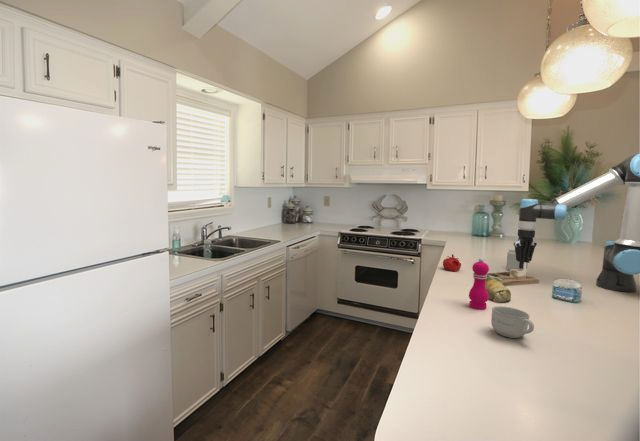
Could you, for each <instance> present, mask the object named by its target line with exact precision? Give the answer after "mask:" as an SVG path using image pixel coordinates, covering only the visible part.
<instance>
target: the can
mask: <svg viewBox="0 0 640 441" xmlns="http://www.w3.org/2000/svg"><path fill="white" fill-rule="evenodd" d="M506 255H507V256H506V270H507V271H510V270H511V269H520V268H519V261H517V260H516V253H515V249H508V251H507V253H506Z"/></svg>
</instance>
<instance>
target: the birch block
mask: <svg viewBox="0 0 640 441" xmlns="http://www.w3.org/2000/svg"><path fill="white" fill-rule="evenodd" d="M509 272H510V277H511V278H514V279H517V280H521V279H526V276H527V270H526V271H523V270H520V269H511V270H509Z"/></svg>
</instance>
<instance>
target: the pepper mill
mask: <svg viewBox="0 0 640 441" xmlns="http://www.w3.org/2000/svg"><path fill="white" fill-rule="evenodd" d="M484 261H485V260H484V258H483V257H480V258H478V261H476V262H474V263H473V264H472V268H471V269H472V271H473V273H472V274H473V275H472V277H473V279H474V281H473V285H472V286H471V288H470V290H469V292H468V298H469V305H468V306H469V307H470V308H472V309H474V310H480V311H482V310H483V311H484V310H487V307H488V306H487V301H489V297H488V292H487V290H486V287H485V282H486V281H485V280H486V279H487V275H486V274H487V273H489V271H490V267H489V264H487V263H486V262H484Z"/></svg>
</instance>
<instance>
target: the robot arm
mask: <svg viewBox="0 0 640 441" xmlns="http://www.w3.org/2000/svg"><path fill="white" fill-rule="evenodd" d="M624 185H627V192H626V198H625V203H624V209H623V215H622V221H621V228H620V233H619V238H618V239H616V240H608V241H606V242H605V244H604V247H603V248H604V250H603V258H602V259H603V260H602V268H601V269H602V270H601V271H600V273H599V275H598V277H597V278H596V280H595V281H596V282H595V285H596V286H598V287H599V288H603V289H605V290H612V291H616V292H617V291H618V292H625V293H635V292H637V288H638V286H637V284H636V283H637V282H636V280H635V276H634V275H639V274H640V153H637V154H633V155H631V156H629V157H627V158H625V159H624V160H622V161H621V162H619V163H618V164H616V165H615V166H612V167H610V168H609V170H608V171H607V172H606V173H604V174H601V175H599V176H597V177H595V178H593V179H591V180H590V181H587V182H585V183H584V184H582V185H580V186H578V187H576V188H574V189H572V190H570V191H568V192H566V193H564V194H562V195H560V196H557V197H556V198H554V199H552V200H550V201H548V202H545V203H540V202H539V199H534V198H523V199H521V200H520V206H519V214H518V216H519V217H518V229H517V237H518V239H517V241H516V242H513V246H514V250H515V253H516V260H517V261H519V268H520V270H523V271H526V272H527V268H528V264H529V263H530V262H531V261H532V259H533V255H534V252H535V249H536V246H537V243H538V242H534V238H535V237H536V231H535V230H536V227H537V226H536V225H537V219H543V220H556V221H558V220H559V221H560V220H561V221H562V220H563V221H564V220H566V218H567V214H568V213H567V212H568V210H569V209H571V208H574V207H575V206H577V205H579V204H583V202H586V201H588V200H589V199H591V198H595V197H597V196H598V195H600V194H602V193H605V192H607V191H609V190H610V189H612V188H615V187H617V186H624Z"/></svg>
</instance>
